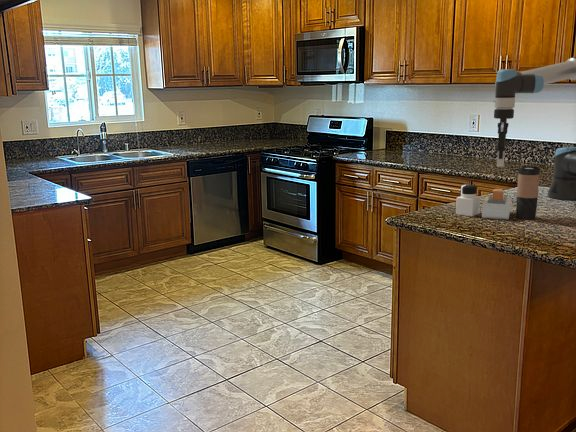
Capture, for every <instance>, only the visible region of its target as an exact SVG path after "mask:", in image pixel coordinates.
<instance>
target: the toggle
mask: <svg viewBox="0 0 576 432" xmlns="http://www.w3.org/2000/svg"><path fill="white" fill-rule="evenodd" d="M504 192H505V191H504V189H500V188H498V189H497V188H494V189H493V190H492V199H496V200H503V197H504Z"/></svg>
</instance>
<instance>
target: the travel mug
mask: <svg viewBox="0 0 576 432" xmlns="http://www.w3.org/2000/svg"><path fill="white" fill-rule="evenodd" d="M539 183H540V167H539V166H535V165H534V166H531V165H530V166H529V165H527V166H526V165H524V166H522V167H521V166H519V167H518V176H517V189H516V206H515V208H516V209H515V217H516V219H519V220H525V221H527V220H528V221H531V220H532V221H533V220H536V216H537V208H538V198H539V186H540V185H539Z"/></svg>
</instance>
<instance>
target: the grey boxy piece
mask: <svg viewBox="0 0 576 432" xmlns="http://www.w3.org/2000/svg"><path fill="white" fill-rule="evenodd" d="M507 196H508V195H503V200H496V199H492V197H493V194H490V195H489V196H485V197H484V199H483V202H482V206H481V207H482V211H481V212H482V213H481V218H483V219H495V220H497V219H498V220H509V219H510V215H511V212H512V211H511V210H512V208H511V207H512V197H507Z"/></svg>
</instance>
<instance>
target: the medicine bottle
mask: <svg viewBox="0 0 576 432" xmlns="http://www.w3.org/2000/svg"><path fill="white" fill-rule="evenodd" d="M477 187H478V186H477V185H474V184H463V185H461V187H460V196H457V197H456V202H455V205H456V207H455V214H456V215H458V216H464V217H465V216H466V217H474V216H477V215H480V210H481V207H480V206H481V196H478V195H477V193H478V192H477Z"/></svg>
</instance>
